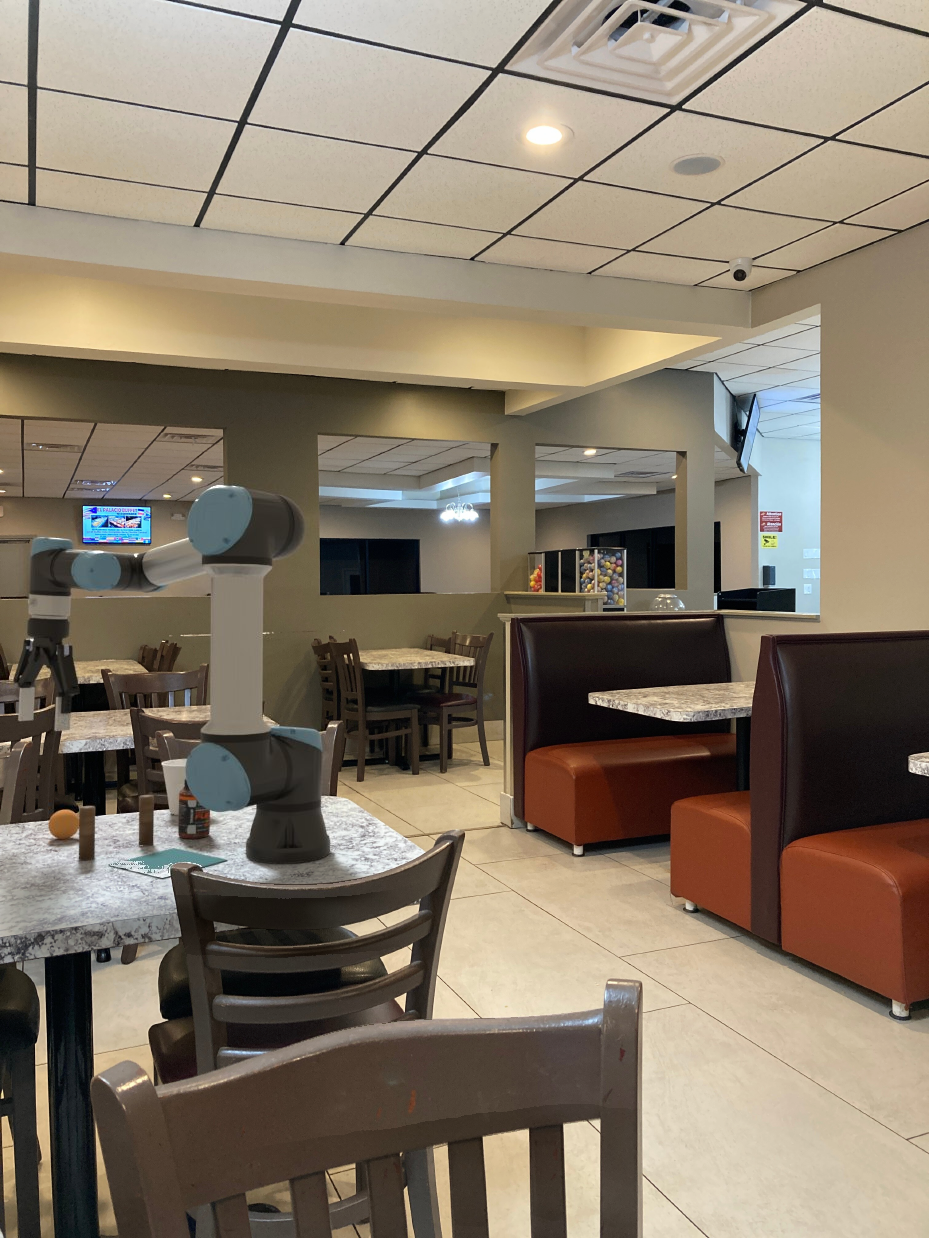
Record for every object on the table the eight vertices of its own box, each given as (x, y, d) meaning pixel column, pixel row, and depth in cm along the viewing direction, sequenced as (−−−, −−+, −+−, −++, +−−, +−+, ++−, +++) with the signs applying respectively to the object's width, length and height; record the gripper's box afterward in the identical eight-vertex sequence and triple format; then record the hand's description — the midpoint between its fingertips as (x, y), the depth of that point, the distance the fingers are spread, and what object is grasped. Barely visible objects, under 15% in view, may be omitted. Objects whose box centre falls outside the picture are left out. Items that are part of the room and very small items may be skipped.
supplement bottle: (198, 840, 179) (198, 781, 179) (171, 838, 181) (172, 779, 181) (216, 834, 185) (216, 776, 184) (190, 831, 186) (190, 774, 186)
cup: (215, 808, 208) (215, 759, 208) (198, 818, 198) (198, 766, 198) (172, 807, 209) (172, 758, 209) (153, 817, 199) (153, 765, 199)
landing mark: (227, 860, 165) (227, 859, 165) (162, 879, 153) (162, 877, 153) (174, 849, 172) (174, 847, 172) (108, 865, 161) (108, 864, 161)
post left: (97, 857, 165) (98, 807, 165) (84, 861, 163) (85, 809, 163) (88, 855, 167) (89, 805, 167) (75, 858, 165) (76, 807, 165)
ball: (85, 837, 180) (85, 809, 180) (59, 843, 175) (59, 814, 175) (68, 833, 183) (68, 805, 183) (42, 839, 178) (42, 810, 178)
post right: (156, 843, 176) (156, 795, 176) (144, 846, 174) (145, 798, 174) (147, 841, 177) (147, 794, 177) (135, 844, 175) (136, 796, 175)
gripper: (-2, 612, 187) (-7, 717, 188) (65, 621, 172) (59, 736, 173) (34, 612, 193) (29, 715, 194) (102, 622, 178) (96, 732, 179)
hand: (43, 725), depth 184 cm, fingers open, 13 cm apart
